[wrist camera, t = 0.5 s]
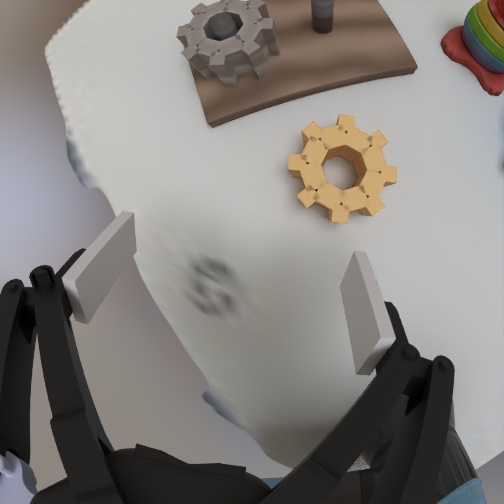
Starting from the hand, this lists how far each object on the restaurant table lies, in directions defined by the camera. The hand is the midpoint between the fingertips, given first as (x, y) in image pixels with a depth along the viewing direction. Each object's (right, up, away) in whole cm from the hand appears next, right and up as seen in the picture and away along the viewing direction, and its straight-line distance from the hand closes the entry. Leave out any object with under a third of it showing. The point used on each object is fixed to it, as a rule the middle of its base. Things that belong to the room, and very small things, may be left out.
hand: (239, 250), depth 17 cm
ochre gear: (+10, +8, +14) cm, 19 cm away
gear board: (+6, +26, +12) cm, 29 cm away
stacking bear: (+32, +27, +7) cm, 43 cm away
